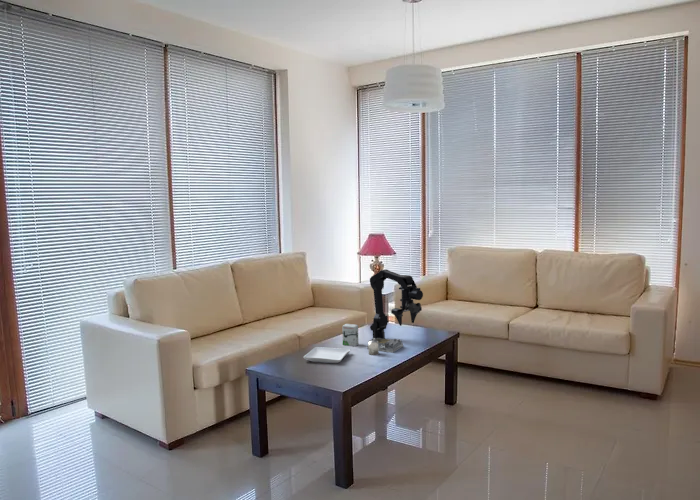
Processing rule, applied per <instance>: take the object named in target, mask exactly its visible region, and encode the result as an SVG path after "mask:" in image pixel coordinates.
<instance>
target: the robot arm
mask: <svg viewBox="0 0 700 500" xmlns="http://www.w3.org/2000/svg"><path fill="white" fill-rule="evenodd" d="M387 279H388V280H391V281H394V282H396V283H397V284H398V285H399V286H400V287H398V290H401V298H400V299H399V301H400V302H401V305H400V306H399V307H394V308H392V309H391V314H392V315H393V316H394V317H395V319H396V320H397V322H398V325H399V326H400V327H401V326H402V325H403V324H402V323H403V316H404V312H405V313H406V312H409V313H410V321H411V323H412V324H414V323H415V321H416V317H417V315H418V314H419V313H420V312H421V311H422V304H421V302H416V303H415V302H414V300H415V301H421V300H422V299H423V297H424V293H423V291H422V290H421V287H418V286H417V284H416V282H415V280H414V278H413V276H412V275H407V274H404V275H403V274H399V273H396V272H393V271H390V270H389V269H386V268H385V269H381V270H380V271H379V272H377V273H375V274H374V275H372V276H371V277H369V285H370V288H371V289H372V290H373V298H374V299H373V300H374V311H375V314H374V316H373V320H372V321H373V322H372V323H371V325H370V327H369V329H370V331H372V338H371V340H373V338H383V339H386V336H385V333H386V332H385V330H386V329H387V326H388V323H389V320H388V317H389V316H388V315H386V314H385V313H384V302H383V301H384V299H383V288H384V285H385V281H386V280H387Z"/></svg>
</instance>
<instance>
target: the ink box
mask: <svg viewBox="0 0 700 500" xmlns="http://www.w3.org/2000/svg"><path fill="white" fill-rule="evenodd" d="M341 329H342V345H343V346H352V347H357V346H358V345H359V325H358V324H355V323H354V324H353V323H352V324H351V323H345V324H343V325H342V328H341Z"/></svg>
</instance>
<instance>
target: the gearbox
mask: <svg viewBox="0 0 700 500" xmlns="http://www.w3.org/2000/svg"><path fill="white" fill-rule="evenodd" d="M376 340H377V341H378V352H383V353H392V354H393V353H395V352H396V351H398V350H400V349H401V348H403V347H404V343H403V341H402V339H398V338H397V339H396V338H393V339H391V338H385V339H383V338H376ZM366 347H367V350H368V345H367V346H366Z"/></svg>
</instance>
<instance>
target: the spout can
mask: <svg viewBox="0 0 700 500" xmlns="http://www.w3.org/2000/svg"><path fill="white" fill-rule="evenodd" d="M372 339H373V340H372ZM372 339H370V340H368V342H367V343H368V345H367V346H368V349H367V351H368V355H370V356H378V355H379V351H378V341H377V340H376V338H373V337H372Z"/></svg>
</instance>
